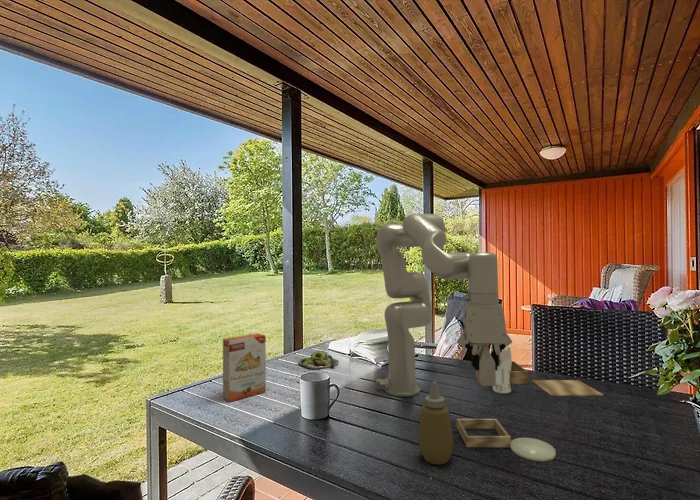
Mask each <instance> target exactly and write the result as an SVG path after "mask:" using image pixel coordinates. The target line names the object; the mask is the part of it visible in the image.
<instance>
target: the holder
mask: <svg viewBox="0 0 700 500" xmlns="http://www.w3.org/2000/svg"><path fill="white" fill-rule="evenodd" d="M456 429H457V431H458V432H459V434H460V437H461V439H462V440H463V443H464V444H465V447H466V448H510V444H511V441H512V437H511V435H510V434H509V433H508V431H506V429H505V427H503V425H502V424H501V423H500V421H499V420H498V419H497V418H456ZM466 430H495V431H496V433H497V434H498V435H469V434H468V432H467V431H466Z"/></svg>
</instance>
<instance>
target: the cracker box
mask: <svg viewBox="0 0 700 500" xmlns="http://www.w3.org/2000/svg"><path fill="white" fill-rule="evenodd" d="M266 345H267V344H266V335H265V334H261V333H251V334H245V335H240V336H232V337H226V338H222V398H223V399H224V400H225V401H227V402H229V403H230V402H234V401H238V400H241V399H245V397H246V398H249V396H250V397H252V395H253V396H255V395H254V394H257V395H259V394H258V393H261V392H265V391H267V390H266V387H267V386H266V385H267V384H266V381H267V379H266V374H267V372H266V371H267V369H266V362H267V360H266V358H267V357H266V355H267V353H266V348H267V347H266ZM265 393H266V392H265ZM261 394H262V393H261Z"/></svg>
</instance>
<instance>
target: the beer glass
mask: <svg viewBox="0 0 700 500" xmlns="http://www.w3.org/2000/svg"><path fill="white" fill-rule="evenodd" d="M491 352H492V346H491V347H490V353H491ZM512 360H513V359H512V348H511V347H509V346H506V347H505V348H504V349H503V351H502V352H501V353H500V355H499V366H497V370H495V375H496V386H492V390H493V392H494V393H498V394H504V395H505V394H510V393H511V392H512V389H511V384H510V373H511V366H512Z"/></svg>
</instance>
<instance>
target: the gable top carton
mask: <svg viewBox="0 0 700 500" xmlns="http://www.w3.org/2000/svg"><path fill="white" fill-rule="evenodd" d="M477 354H478V355H479V370H475V378H476V380H477V382H478V384H479V385H480V386H481V387H482V386H483V387H489V386H491V387H493V386H496V375H495V361H494V359H493V358H492V356H491V351H490V350H489V346H488V344H479V345H478V349H477Z"/></svg>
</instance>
